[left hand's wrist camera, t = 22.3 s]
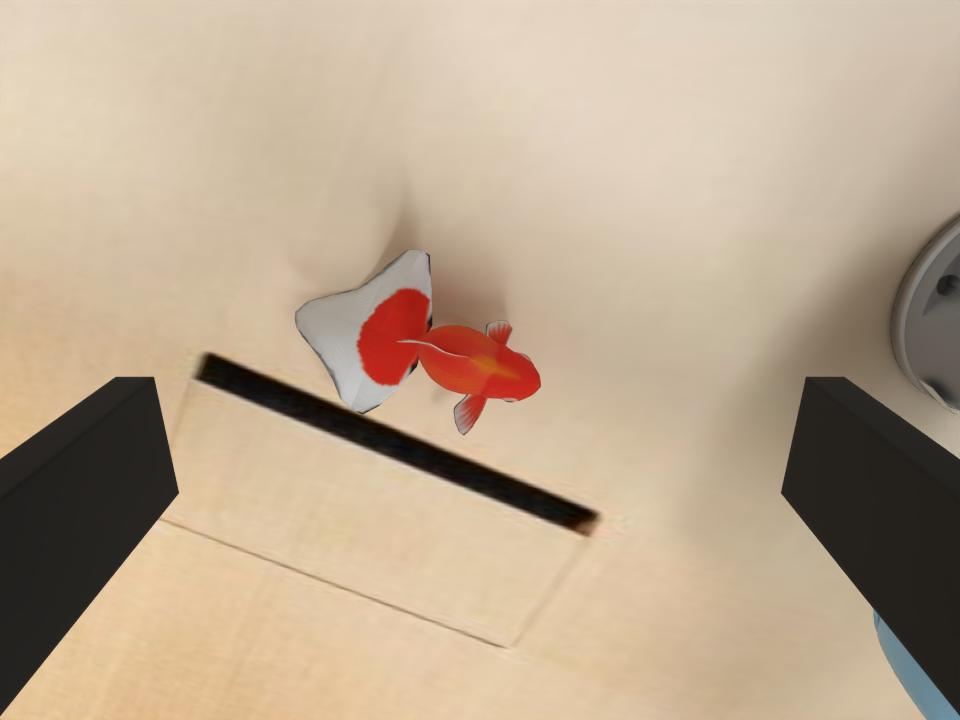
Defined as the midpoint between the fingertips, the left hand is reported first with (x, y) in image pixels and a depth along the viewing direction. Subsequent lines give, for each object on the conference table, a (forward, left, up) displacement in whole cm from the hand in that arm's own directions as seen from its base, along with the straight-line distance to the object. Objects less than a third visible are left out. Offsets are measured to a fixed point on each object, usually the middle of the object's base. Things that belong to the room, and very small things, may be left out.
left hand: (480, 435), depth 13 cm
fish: (+7, +5, -29) cm, 30 cm away
